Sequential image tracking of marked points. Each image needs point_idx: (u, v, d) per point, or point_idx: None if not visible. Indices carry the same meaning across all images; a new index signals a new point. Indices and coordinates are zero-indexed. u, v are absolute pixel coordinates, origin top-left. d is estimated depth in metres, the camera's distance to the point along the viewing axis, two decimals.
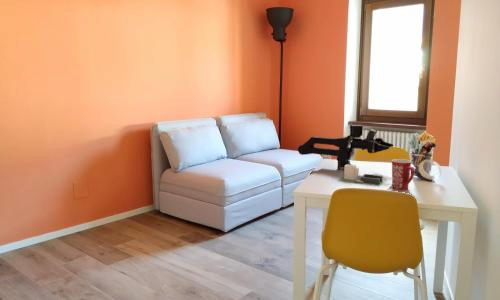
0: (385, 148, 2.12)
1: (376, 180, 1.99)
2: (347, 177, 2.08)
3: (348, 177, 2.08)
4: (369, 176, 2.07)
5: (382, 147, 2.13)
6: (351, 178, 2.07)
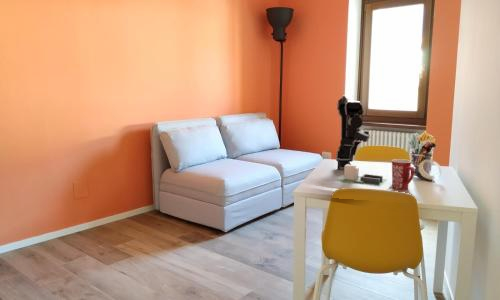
0: (347, 155, 2.03)
1: (376, 180, 1.99)
2: (347, 177, 2.08)
3: (348, 177, 2.08)
4: (369, 176, 2.07)
5: (348, 152, 2.02)
6: (351, 178, 2.07)
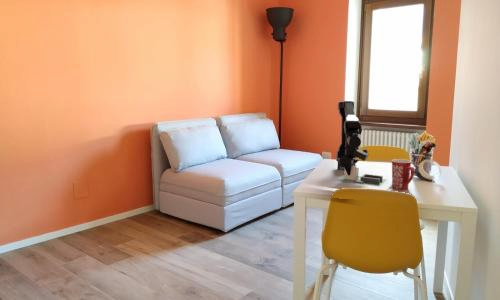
0: (347, 172, 2.07)
1: (376, 180, 1.99)
2: (347, 177, 2.08)
3: (348, 177, 2.08)
4: (369, 176, 2.07)
5: (348, 169, 2.06)
6: (351, 178, 2.07)
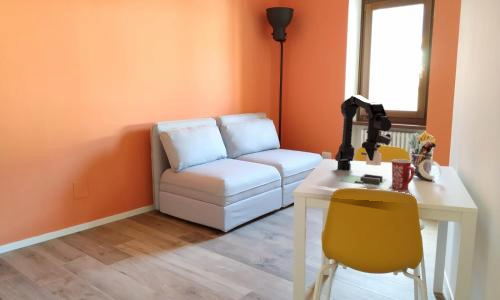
0: (370, 157, 2.00)
1: (376, 180, 1.99)
2: (369, 163, 2.01)
3: (370, 163, 2.01)
4: (369, 176, 2.07)
5: (371, 154, 1.99)
6: (373, 163, 2.00)
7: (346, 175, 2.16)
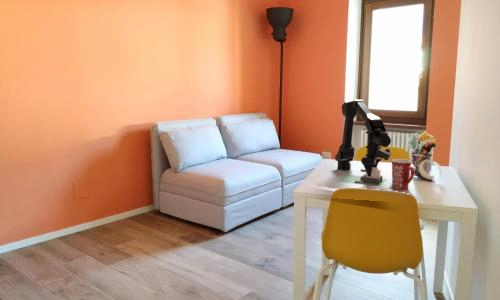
0: (368, 173, 1.99)
1: (376, 180, 1.99)
2: None
3: None
4: None
5: (369, 170, 1.98)
6: None
7: (346, 175, 2.16)
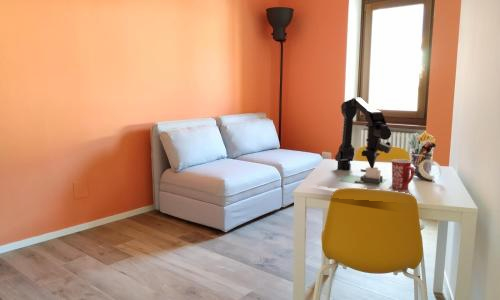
0: (370, 164, 2.02)
1: (376, 180, 1.99)
2: None
3: None
4: None
5: (371, 162, 2.01)
6: None
7: (346, 175, 2.16)
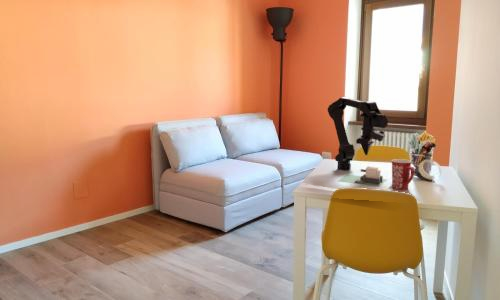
0: (365, 152, 2.15)
1: (376, 180, 1.99)
2: None
3: None
4: None
5: (366, 149, 2.14)
6: None
7: (346, 175, 2.16)
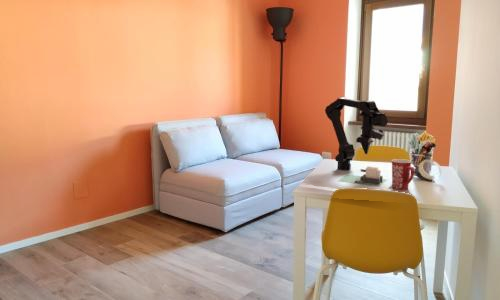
0: (365, 151, 2.17)
1: (376, 180, 1.99)
2: None
3: None
4: None
5: (365, 148, 2.16)
6: None
7: (346, 175, 2.16)
